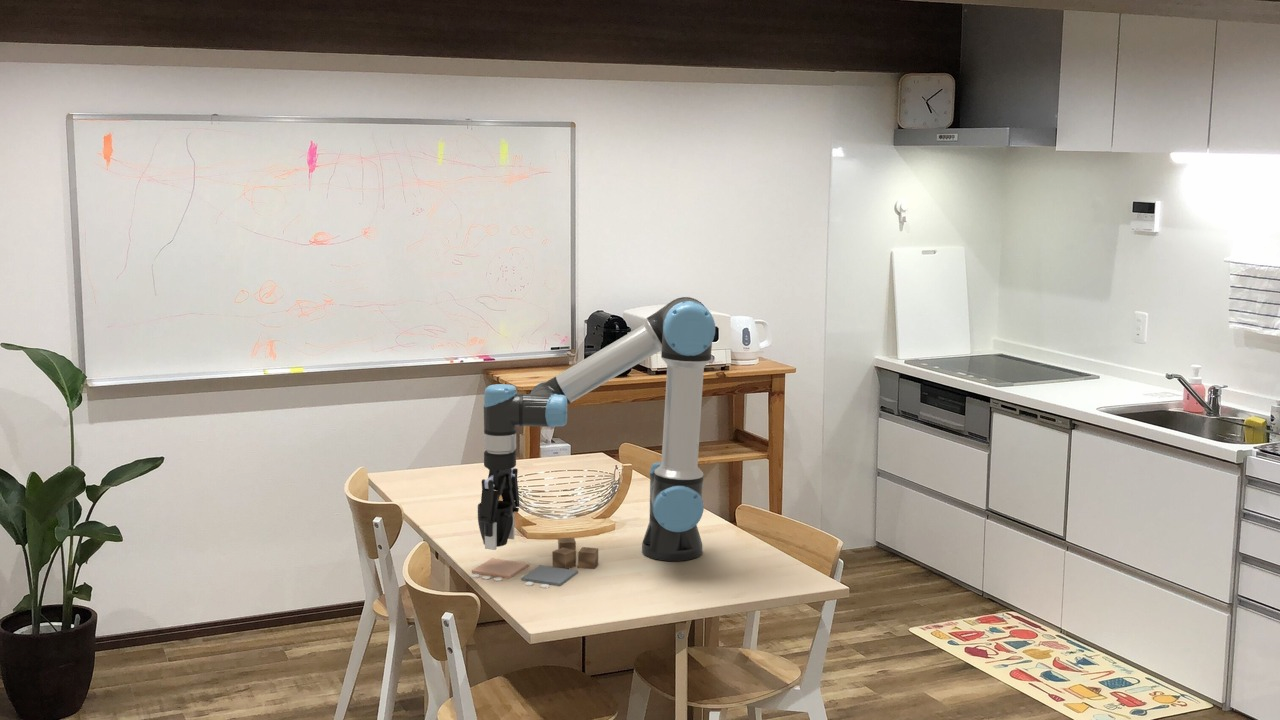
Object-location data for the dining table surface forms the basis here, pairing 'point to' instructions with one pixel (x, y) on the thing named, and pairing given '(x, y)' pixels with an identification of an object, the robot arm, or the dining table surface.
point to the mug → (500, 522)
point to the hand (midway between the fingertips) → (499, 543)
